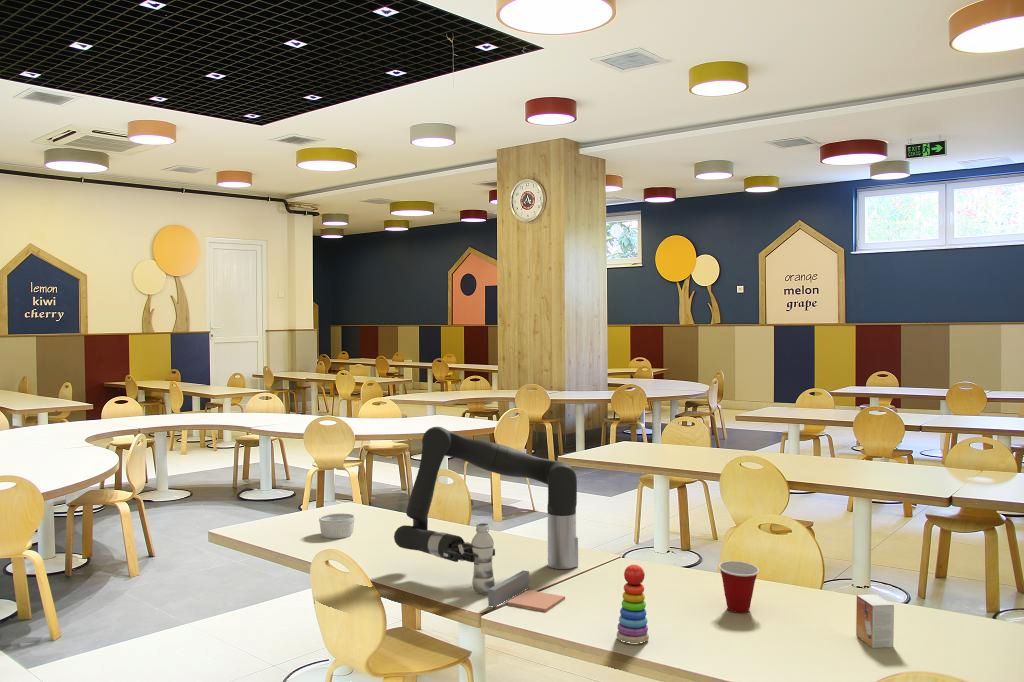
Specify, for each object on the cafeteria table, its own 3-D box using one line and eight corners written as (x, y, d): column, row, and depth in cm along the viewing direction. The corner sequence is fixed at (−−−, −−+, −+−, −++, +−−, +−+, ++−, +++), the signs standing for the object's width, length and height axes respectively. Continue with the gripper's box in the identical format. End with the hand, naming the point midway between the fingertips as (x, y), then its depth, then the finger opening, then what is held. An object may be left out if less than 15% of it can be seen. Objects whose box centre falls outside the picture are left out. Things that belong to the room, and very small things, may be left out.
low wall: (523, 586, 252) (523, 570, 251) (529, 587, 251) (529, 571, 250) (488, 606, 234) (488, 589, 234) (494, 608, 233) (494, 590, 233)
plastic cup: (737, 619, 223) (737, 574, 223) (710, 607, 233) (710, 564, 232) (768, 612, 228) (768, 568, 228) (740, 600, 238) (740, 558, 237)
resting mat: (528, 592, 246) (528, 589, 246) (565, 599, 240) (565, 596, 240) (507, 604, 236) (507, 602, 236) (545, 611, 230) (545, 609, 230)
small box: (855, 636, 211) (855, 594, 210) (877, 635, 211) (877, 593, 211) (872, 648, 203) (872, 605, 202) (894, 647, 203) (894, 604, 203)
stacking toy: (627, 647, 204) (627, 571, 204) (610, 636, 212) (610, 562, 211) (655, 642, 207) (654, 567, 207) (637, 631, 215) (637, 558, 214)
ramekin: (326, 530, 322) (326, 512, 322) (359, 531, 320) (359, 513, 320) (313, 539, 309) (313, 520, 309) (348, 540, 307) (348, 521, 307)
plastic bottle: (492, 596, 243) (491, 527, 242) (469, 595, 244) (468, 526, 244) (497, 589, 249) (496, 522, 249) (474, 588, 251) (474, 521, 250)
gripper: (428, 538, 252) (467, 547, 241) (462, 529, 262) (500, 537, 251) (428, 563, 252) (467, 573, 241) (462, 553, 262) (501, 562, 251)
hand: (484, 555), depth 246 cm, fingers open, 8 cm apart
